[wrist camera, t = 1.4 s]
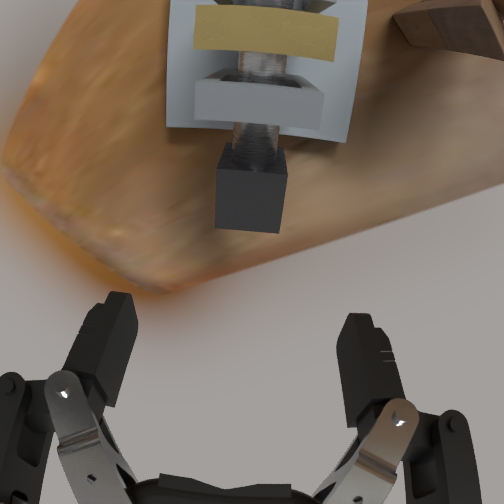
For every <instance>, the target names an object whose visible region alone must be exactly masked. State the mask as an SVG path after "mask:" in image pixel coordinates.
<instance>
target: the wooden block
mask: <svg viewBox="0 0 504 504" xmlns="http://www.w3.org/2000/svg"><path fill="white" fill-rule="evenodd" d="M393 18H394V20H395V21H396V23H397V24H398V26H399V27H400V29H401V30H402V32H403V34H404V35H405V37H406V39H407V40H408V42H409V44H410V45H412V46H419V47H429V48H437V49H445V50H450V51H456V52H462V53H468V54H473V55H478V56H483V57H488V58H493V59H497V60H501V61H504V25H503V21H504V0H422V1H421V2H419V3H415V4H413V5H411V6H409V7H407V8H405V9H402V10H400V11H398V12H396V13H394V15H393ZM502 20H503V21H502Z"/></svg>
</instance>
